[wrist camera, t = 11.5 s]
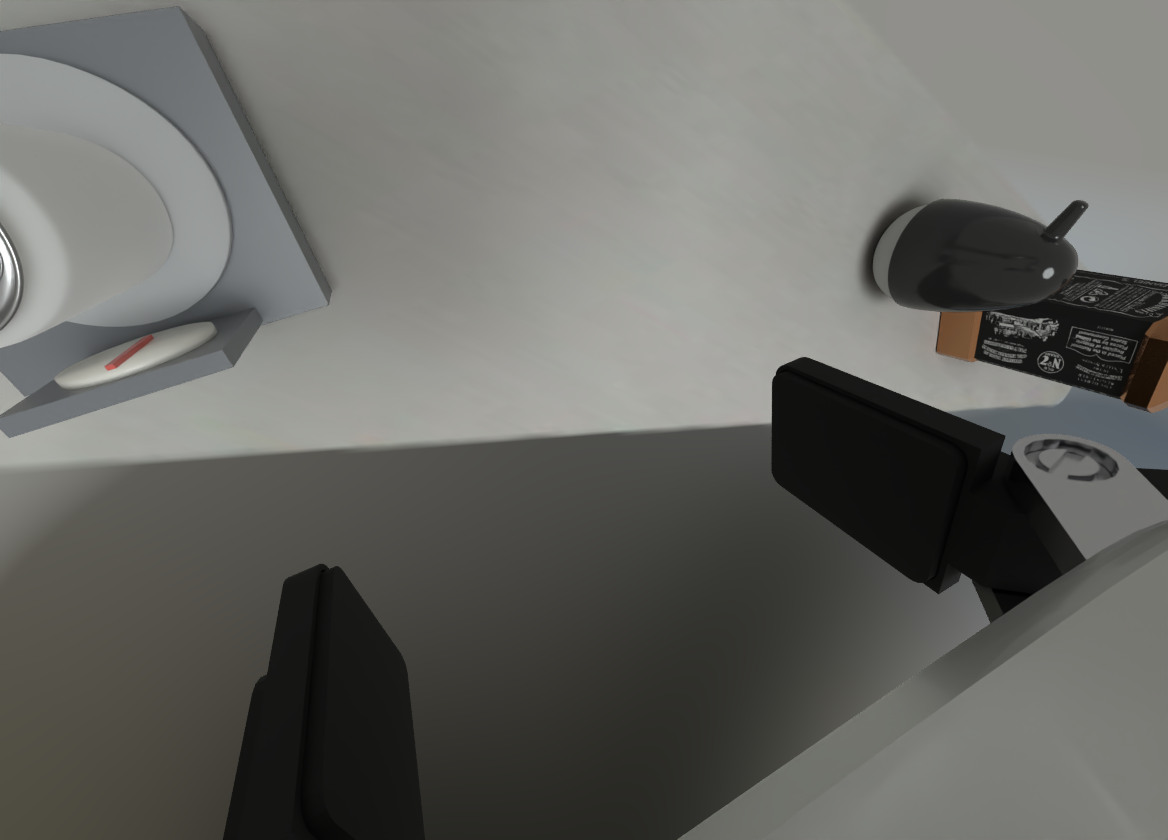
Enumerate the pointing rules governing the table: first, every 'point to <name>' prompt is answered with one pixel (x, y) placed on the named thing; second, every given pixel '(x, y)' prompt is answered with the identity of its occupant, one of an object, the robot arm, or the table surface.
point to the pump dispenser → (974, 257)
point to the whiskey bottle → (1077, 338)
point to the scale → (192, 200)
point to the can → (70, 229)
